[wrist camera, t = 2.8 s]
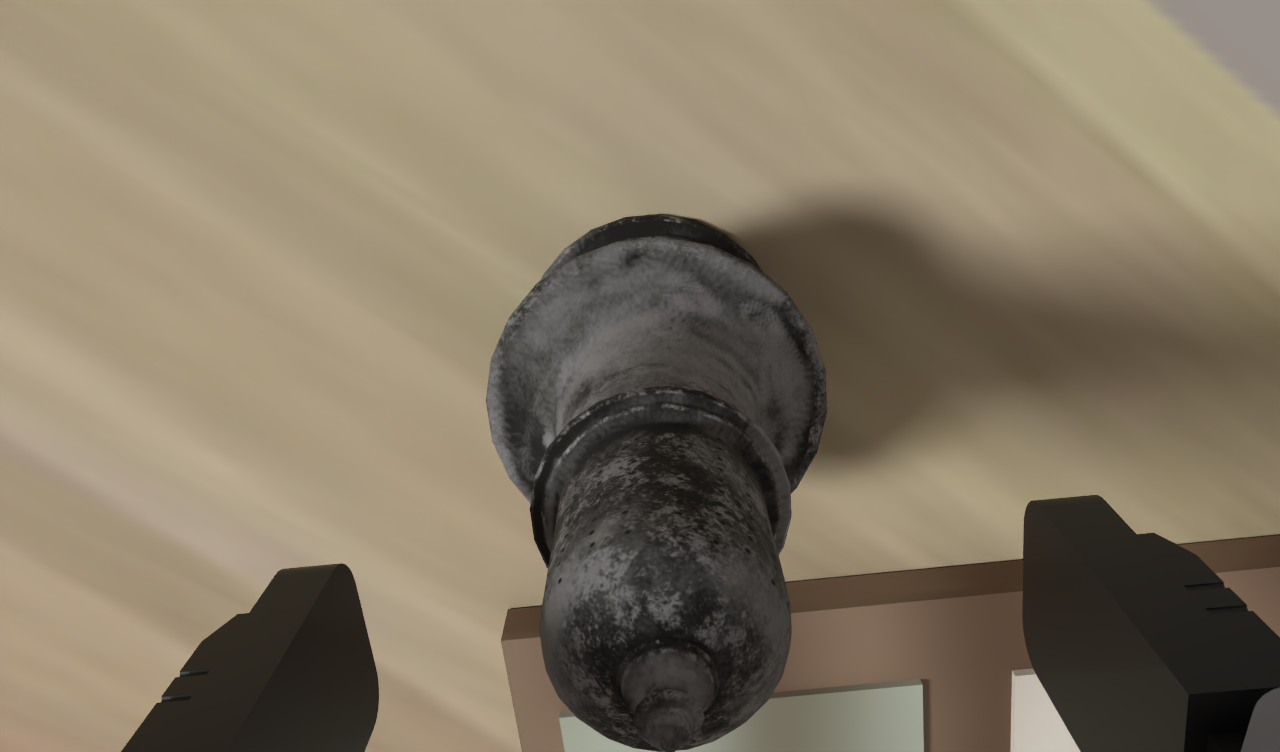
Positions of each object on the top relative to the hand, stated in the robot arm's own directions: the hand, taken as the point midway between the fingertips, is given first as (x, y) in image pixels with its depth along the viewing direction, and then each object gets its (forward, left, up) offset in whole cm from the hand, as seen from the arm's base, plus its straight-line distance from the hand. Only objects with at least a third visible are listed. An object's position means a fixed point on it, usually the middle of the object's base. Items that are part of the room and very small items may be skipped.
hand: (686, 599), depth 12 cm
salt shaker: (0, 0, -10) cm, 10 cm away
